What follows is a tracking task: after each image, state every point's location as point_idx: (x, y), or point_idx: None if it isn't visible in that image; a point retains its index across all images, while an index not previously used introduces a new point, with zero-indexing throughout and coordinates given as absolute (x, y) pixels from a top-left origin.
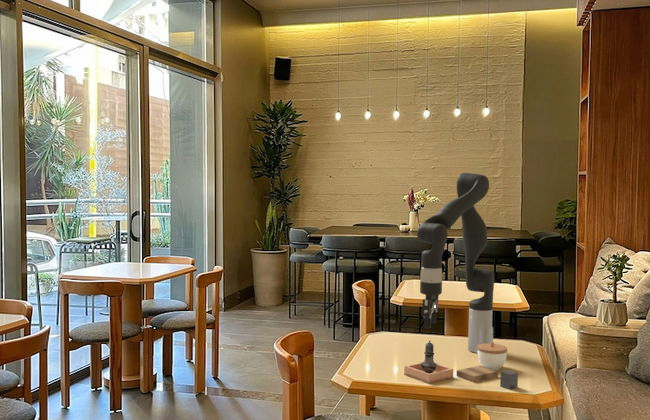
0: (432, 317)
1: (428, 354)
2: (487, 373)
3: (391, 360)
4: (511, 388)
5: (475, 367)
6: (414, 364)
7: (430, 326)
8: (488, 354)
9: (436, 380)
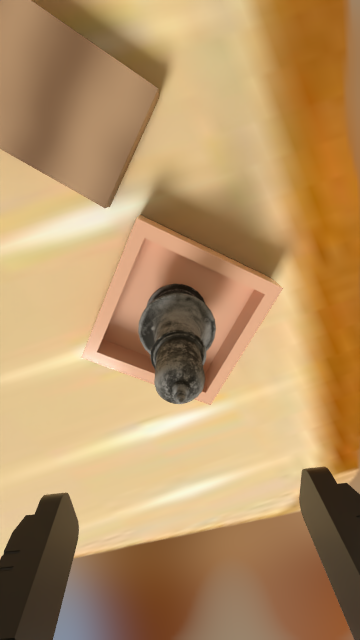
0: (50, 588)
1: (205, 351)
2: (50, 15)
3: (76, 467)
4: None
5: None
6: None
7: (322, 483)
8: None
9: (234, 261)
